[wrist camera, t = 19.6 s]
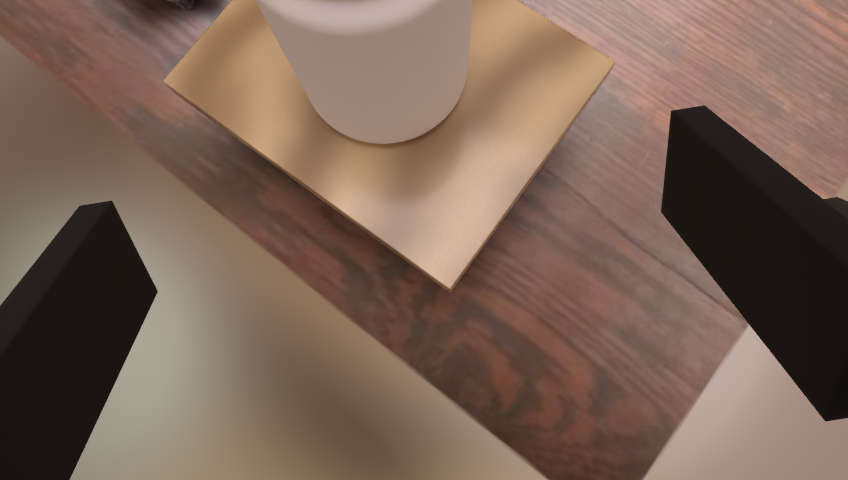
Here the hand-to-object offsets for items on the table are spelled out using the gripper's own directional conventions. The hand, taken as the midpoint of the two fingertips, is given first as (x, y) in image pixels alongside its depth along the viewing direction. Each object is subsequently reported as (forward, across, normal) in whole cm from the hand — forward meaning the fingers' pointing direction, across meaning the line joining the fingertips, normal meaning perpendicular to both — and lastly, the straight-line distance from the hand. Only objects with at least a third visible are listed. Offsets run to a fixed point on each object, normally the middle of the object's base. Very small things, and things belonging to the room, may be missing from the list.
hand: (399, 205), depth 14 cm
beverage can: (+17, 0, -2) cm, 17 cm away
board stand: (+24, 0, -9) cm, 26 cm away
